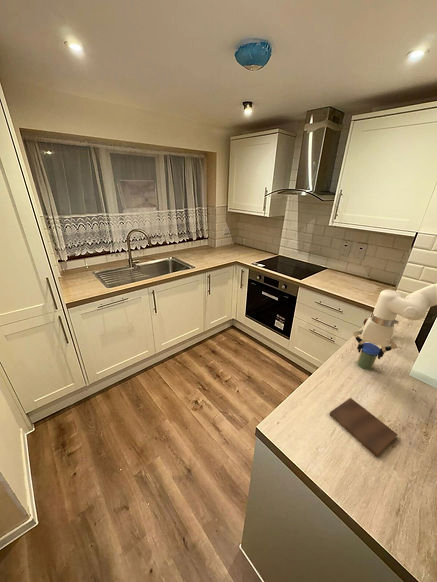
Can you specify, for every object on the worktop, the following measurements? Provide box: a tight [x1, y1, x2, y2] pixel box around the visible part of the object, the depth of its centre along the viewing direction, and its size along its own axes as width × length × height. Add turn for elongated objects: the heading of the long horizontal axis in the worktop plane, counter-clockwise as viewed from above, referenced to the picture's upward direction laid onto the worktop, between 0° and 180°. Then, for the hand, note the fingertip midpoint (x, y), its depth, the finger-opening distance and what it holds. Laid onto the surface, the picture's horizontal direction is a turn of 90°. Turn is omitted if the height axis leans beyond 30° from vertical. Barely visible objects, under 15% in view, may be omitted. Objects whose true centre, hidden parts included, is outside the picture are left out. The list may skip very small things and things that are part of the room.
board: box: [329, 397, 398, 458], centre depth 78 cm, size 16×12×2 cm
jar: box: [356, 349, 378, 371], centre depth 103 cm, size 6×6×9 cm
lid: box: [361, 342, 381, 356], centre depth 101 cm, size 7×7×2 cm
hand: (368, 353), depth 102 cm, fingers closed on lid, 6 cm apart
